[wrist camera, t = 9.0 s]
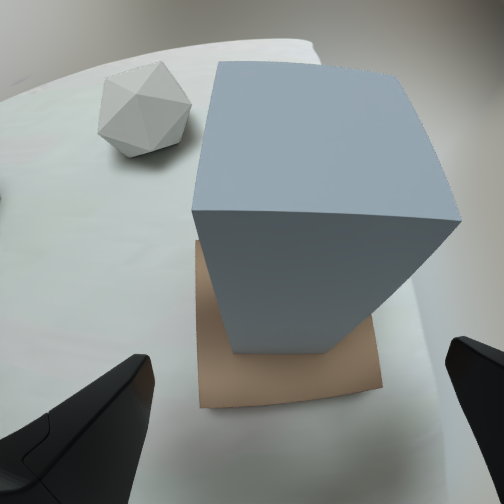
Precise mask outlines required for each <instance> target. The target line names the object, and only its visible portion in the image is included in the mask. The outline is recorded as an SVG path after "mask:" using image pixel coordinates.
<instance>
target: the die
mask: <svg viewBox="0 0 504 504" xmlns="http://www.w3.org/2000/svg"><path fill="white" fill-rule="evenodd" d="M191 106H192V104H191V102H190V101H189V99H188V97H187V96H186V94H185V93H184V91H183V90H182V88H181V87H180V86H179V84H178V83H177V81H176V80H175V79H174V77H173V76H172V74H171V73H170V72H169V70H168V69H167V67H166V66H165V65H164V63H163V62H162V61H159V62H156V63H152V64H148V65H145V66H141V67H138V68H135V69H131V70H128V71H125V72H122V73H119V74H116V75H113V76H110V77H107V78H105V82H104V88H103V95H102V101H101V108H100V116H99V124H98V133H97V134H98V135H100V136H101V137H102V138H104V139H105V140H106V141H108V142H109V143H110V144H111V145H113V146H114V147H115V148H117V149H118V150H119V151H121V152H122V153H123V154H124V155H126V156H127V157H128V158H131V157H134V156H138V155H141V154H145V153H148V152H152V151H155V150H158V149H161V148H164V147H167V146H170V145H174V144H177V143H180V142H181V138H182V135H183V132H184V128H185V125H186V122H187V119H188V116H189V112H190V109H191Z"/></svg>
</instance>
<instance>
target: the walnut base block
mask: <svg viewBox="0 0 504 504" xmlns="http://www.w3.org/2000/svg"><path fill="white" fill-rule="evenodd" d="M195 273H196V331H197V360H198V382H199V400H200V408H227V407H245V406H259V405H270V404H281V403H290V402H299V401H307V400H314V399H321V398H328V397H334V396H340V395H346V394H352V393H358V392H363V391H368V390H373V389H378V388H383V386H382V378H381V371H380V364H379V357H378V351H377V345H376V339H375V333H374V327H373V322H372V316H371V315H369V316H368V317H367V318H366V319H365V320H364V321H363V322H362V323H360V324H359V325H358V326H357V327H356V328H355V329H354V330H353V331H351V332H350V333H349V334H348V335H347V336H346V337H344V338H343V339H342V340H341V341H340V342H339V343H337V344H336V345H335V346H334V347H333V348H331V349H330V350H329V351H328V352H327V353H316V354H240V353H233V352H232V349H231V346H230V342H229V339H228V336H227V333H226V329H225V326H224V323H223V320H222V316H221V313H220V310H219V306H218V303H217V300H216V296H215V293H214V290H213V286H212V283H211V279H210V276H209V272H208V269H207V265H206V262H205V258H204V255H203V251H202V248H201V244H200V240H196V244H195Z"/></svg>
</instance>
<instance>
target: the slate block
mask: <svg viewBox="0 0 504 504" xmlns="http://www.w3.org/2000/svg"><path fill="white" fill-rule="evenodd" d="M191 211H192V214H193V218H194V222H195V226H196V229H197V233H198V237H199V240H200V244H201V248H202V251H203V255H204V258H205V262H206V265H207V269H208V272H209V276H210V279H211V283H212V286H213V290H214V293H215V296H216V300H217V303H218V306H219V310H220V313H221V316H222V320H223V323H224V326H225V329H226V333H227V336H228V339H229V342H230V346H231V349H232V352H233V353H240V354H316V353H327V352H328V351H329V350H330V349H331V348H333V347H334V346H335V345H336V344H337V343H339V342H340V341H341V340H342V339H343V338H344V337H346V336H347V335H348V334H349V333H350V332H351V331H353V330H354V329H355V328H356V327H357V326H358V325H359V324H360V323H362V322H363V321H364V320H365V319H366V318H367V317H368V316H369V315H371V314H372V313H373V312H374V311H375V310H376V309H377V308H378V307H379V306H380V305H381V304H382V303H383V302H385V301H386V300H387V299H388V298H389V297H390V296H391V295H392V294H393V293H394V292H395V291H396V290H397V289H398V288H399V287H400V286H401V285H402V284H403V283H404V282H405V281H406V280H407V279H408V278H409V277H410V276H411V275H412V274H413V273H414V272H415V271H416V270H417V269H418V268H419V267H420V266H421V265H422V264H423V263H424V262H425V261H426V260H427V259H428V258H429V257H430V256H431V255H432V253H433V252H434V251H435V250H436V249H437V248H438V247H439V246H440V245H441V244H442V243H443V242H444V240H446V238H447V237H448V236H449V235H450V234H451V233H452V231H454V229H455V228H456V227H457V226H458V225H459V224H460V223H461V221H462V219H461V216H460V214H459V210H458V208H457V205H456V202H455V199H454V197H453V194H452V191H451V188H450V186H449V183H448V181H447V178H446V176H445V174H444V171H443V169H442V167H441V164H440V161H439V159H438V157H437V155H436V152H435V150H434V148H433V146H432V144H431V142H430V139H429V137H428V135H427V133H426V131H425V129H424V127H423V125H422V123H421V121H420V119H419V117H418V115H417V113H416V111H415V109H414V107H413V106H412V104H411V102H410V100H409V98H408V96H407V94H406V93H405V91H404V89H403V87H402V86H401V84H400V82H399V81H398V79H397V77H396V76H393V75H387V74H382V73H377V72H371V71H364V70H357V69H351V68H342V67H335V66H326V65H316V64H303V63H288V62H262V61H227V62H218V67H217V71H216V76H215V80H214V85H213V90H212V95H211V100H210V105H209V110H208V115H207V120H206V125H205V131H204V136H203V142H202V147H201V153H200V159H199V165H198V171H197V177H196V183H195V190H194V196H193V203H192V209H191Z"/></svg>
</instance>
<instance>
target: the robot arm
mask: <svg viewBox="0 0 504 504" xmlns="http://www.w3.org/2000/svg"><path fill="white" fill-rule="evenodd" d="M445 366H446V369H447V371H448V374H449V376H450V379H451V382H452V384H453V387H454V390H455V392H456V395H457V398H458V401H459V403H460V405H461V408H462V410H463V412H464V414H465V416H466V418H467V420H468V423H469V425H470V427H471V429H472V431H473V434H474V436H475V438H476V441H477V443H478V445H479V448H480V450H481V452H482V455H483V457H484V460H485V462H486V465H487V467H488V470H489V472H490V475H491V477H492V480H493V483H494V485H495V488H496V491H497V494H498V497H499V500H500V502H501V504H504V352H503V351H500V350H498V349H495V348H493V347H491V346H488V345H485V344H483V343H481V342H478V341H476V340H473V339H470V338H468V337H465V336H461V337H455V338H453V340H452V341H451V344H450V347H449V350H448V353H447V356H446V359H445ZM154 386H155V378H154V373H153V369H152V364H151V360H150V357H149V356H148V355H146V354H134V355H132V356H131V357H129V358H128V359H126V360H125V361H123V362H122V363H120V364H119V365H117V366H116V367H114V368H113V369H111V370H110V371H108V372H107V373H105V374H104V375H102V376H101V377H100V378H98V379H97V380H95V381H94V382H92V383H91V384H89V385H88V386H86V387H85V388H83V389H82V390H80V391H79V392H77V393H76V394H74V395H73V396H71V397H70V398H68V399H67V400H65V401H64V402H62V403H61V404H59V405H58V406H56V407H55V408H53V409H51V410H50V411H49V413H45V414H44V415H42V416H41V417H39V418H38V419H36V420H34V421H33V422H31V423H30V424H28V425H26V426H25V427H23V428H21V429H19V430H18V431H16V432H14V433H12V434H10V435H8V436H6V437H4V438H2V439H1V440H0V504H128V501H129V497H130V493H131V489H132V485H133V481H134V477H135V474H136V470H137V466H138V463H139V459H140V455H141V452H142V448H143V444H144V441H145V437H146V433H147V429H148V424H149V417H150V411H151V404H152V398H153V392H154Z"/></svg>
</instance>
